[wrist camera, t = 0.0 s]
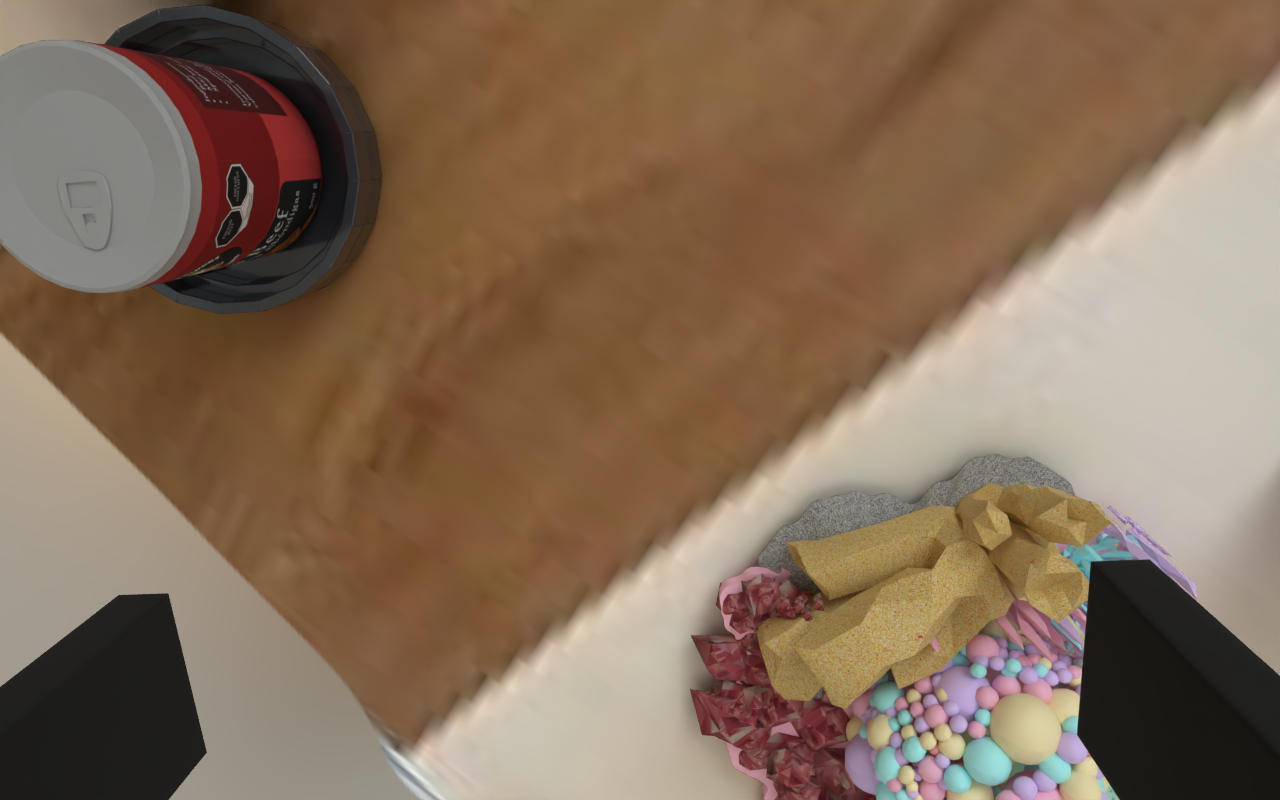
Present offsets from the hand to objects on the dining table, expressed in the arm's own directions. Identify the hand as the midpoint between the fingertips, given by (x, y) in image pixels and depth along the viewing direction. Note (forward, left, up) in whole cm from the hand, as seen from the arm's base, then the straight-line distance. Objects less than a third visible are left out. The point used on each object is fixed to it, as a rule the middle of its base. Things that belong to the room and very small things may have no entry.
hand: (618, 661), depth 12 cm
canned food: (-8, -18, -28) cm, 34 cm away
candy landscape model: (+20, +13, -28) cm, 37 cm away
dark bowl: (-8, -18, -28) cm, 34 cm away
